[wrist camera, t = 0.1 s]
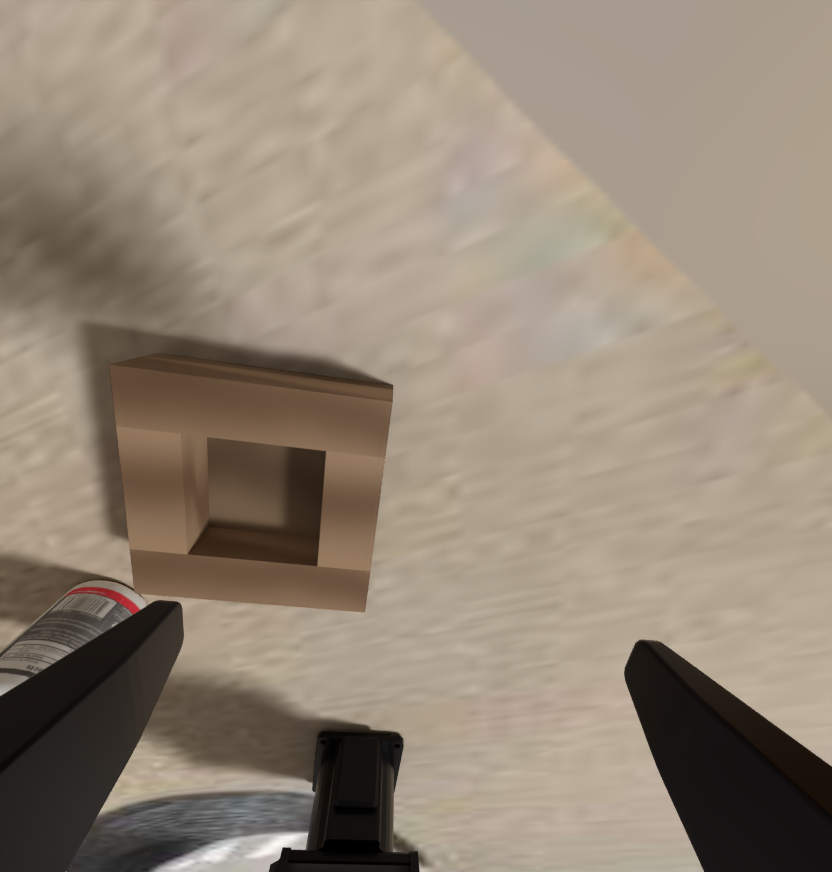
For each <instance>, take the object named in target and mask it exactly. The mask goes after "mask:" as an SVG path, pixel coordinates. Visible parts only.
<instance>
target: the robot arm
mask: <svg viewBox="0 0 832 872" xmlns="http://www.w3.org/2000/svg"><path fill="white" fill-rule="evenodd" d="M183 639H184V629H183V613H182V606H181V604H180V603H179V602H175V601H163V600H158V601H155V602H153V603H151V604H149V605H147V606H146V607H144V608H143V609H141V610H139V611H138V612H136V613H134V614H133V615H131V616H129V617H128V618H126V619H125V620H123V621H121V622H120V623H118V624H116V625H115V626H113V627H112V628H110V629H108V630H107V631H105V632H103V633H102V634H100V635H99V636H97V637H95V638H94V639H92V640H90V641H89V642H87V643H85V644H84V645H82V646H81V647H79V648H77V649H76V650H74V651H72V652H71V653H69V654H68V655H66V656H64V657H63V658H61V659H59V660H58V661H56V662H55V663H53V664H51V665H50V666H48V667H46V668H45V669H43V670H41V671H40V672H38V673H37V674H35V675H33V676H32V677H30V678H28V679H27V680H25V681H24V682H22V683H20V684H19V685H17V686H15V687H14V688H12V689H11V690H9V691H7V692H6V693H4V694H2V695H1V696H0V872H66V870H67V869H68V867H69V865H70V863H71V862H72V860H73V858H74V856H75V854H76V853H77V851H78V849H79V847H80V846H81V844H82V842H83V840H84V838H85V837H86V835H87V833H88V831H89V830H90V828H91V826H92V824H93V822H94V821H95V819H96V817H97V815H98V814H99V812H100V810H101V808H102V807H103V805H104V803H105V801H106V799H107V798H108V796H109V794H110V792H111V791H112V789H113V787H114V785H115V783H116V782H117V780H118V778H119V776H120V775H121V773H122V771H123V769H124V768H125V766H126V764H127V762H128V760H129V759H130V757H131V755H132V753H133V751H134V749H135V747H136V746H137V744H138V742H139V740H140V738H141V735H142V733H143V731H144V729H145V727H146V725H147V723H148V721H149V718H150V716H151V714H152V712H153V709H154V707H155V705H156V703H157V701H158V698H159V696H160V694H161V692H162V690H163V687H164V685H165V683H166V681H167V679H168V676H169V674H170V672H171V670H172V667H173V665H174V663H175V661H176V659H177V656H178V654H179V652H180V650H181V647H182V644H183ZM624 676H625V681H626V684H627V687H628V690H629V692H630V695H631V698H632V701H633V703H634V706H635V709H636V712H637V714H638V717H639V720H640V723H641V725H642V728H643V731H644V734H645V736H646V739H647V742H648V745H649V747H650V750H651V753H652V755H653V758H654V760H655V763H656V766H657V768H658V770H659V773H660V775H661V777H662V780H663V782H664V784H665V787H666V789H667V791H668V793H669V795H670V798H671V800H672V802H673V804H674V806H675V808H676V811H677V813H678V815H679V817H680V819H681V822H682V824H683V826H684V828H685V830H686V833H687V835H688V837H689V839H690V841H691V844H692V846H693V848H694V850H695V852H696V855H697V857H698V859H699V861H700V863H701V866H702V868H703V870H704V872H832V766H830V765H829V764H827V763H826V762H825V761H823V760H822V759H821V758H819V757H818V756H816V755H815V754H814V753H812V752H811V751H810V750H808V749H807V748H806V747H804V746H803V745H801V744H800V743H799V742H797V741H796V740H795V739H793V738H792V737H790V736H789V735H788V734H786V733H785V732H784V731H782V730H781V729H779V728H778V727H777V726H775V725H774V724H773V723H771V722H770V721H768V720H767V719H766V718H764V717H763V716H762V715H760V714H759V713H758V712H756V711H755V710H753V709H752V708H751V707H749V706H748V705H747V704H745V703H744V702H742V701H741V700H740V699H738V698H737V697H736V696H734V695H733V694H731V693H730V692H729V691H727V690H726V689H725V688H723V687H722V686H721V685H719V684H718V683H716V682H715V681H714V680H712V679H711V678H710V677H708V676H707V675H705V674H704V673H703V672H701V671H700V670H699V669H697V668H696V667H694V666H693V665H692V664H690V663H689V662H688V661H686V660H685V659H684V658H682V657H681V656H679V655H678V654H677V653H675V652H674V651H673V650H671V649H670V648H668V647H667V646H666V645H664V644H663V643H661V642H659V641H654V640H639V641H637V642H636V643H635V645H634V648H633V650H632V652H631V654H630V657H629V659H628V661H627V664H626V666H625V671H624ZM402 751H403V738H402V737H401V736H391V735H373V734H354V733H336V732H321V733H319V734H318V737H317V743H316V754H315V765H314V776H313V787H312V790H313V792H315V797H314V803H313V809H312V815H311V821H310V827H309V833H308V839H307V845H306V850H291V848H285V847H283V848H282V852H281V857H280V859H279V860H278V861H276V862H274V863H273V864H271V865H270V870H269V872H419V861H418V851H409V853H403V852H393V809H394V791H395V786H396V781H397V776H398V771H399V766H400V761H401V756H402Z"/></svg>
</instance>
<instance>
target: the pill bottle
mask: <svg viewBox="0 0 832 872" xmlns="http://www.w3.org/2000/svg"><path fill="white" fill-rule="evenodd" d="M146 606H147V604H146V602H145V600H144V599H143V598H142V597H141V596H140V595H139V594H136V593H135V591H133V590H131V589H130V588H128V587H126V586H124V585H121V584H118V583H116V582H110V581H101V580H95V581H88V582H84V583H81V584H79V585H77V586H75V587H73V588H72V589H71V590H69V591H68V592H67V593H66V594H65V595H63V596H62V597H61V598H60V599H59V600H58V601H57V602H56V603H54V604H53V605H52V606H51V607H50V608H49V609H48V610H46V611H45V612H44V613H43V614H42V615H41V616H39V617H38V618H37V619H36V620H35V621H34V622H33V623H32V624H31V625H30V626H28V627H27V628H26V629H25V630H24V631H23V632H22V633H21V634H20V635H18V636H17V637H16V638H15V639H14V640H13V641H12V642H11V643H10V644H8V645H7V646H6V647H5V648H4V649H3V650H2V651H1V652H0V696H1V695H2V694H4V693H6V692H7V691H9V690H11V689H12V688H14V687H15V686H17V685H19V684H20V683H22V682H24V681H25V680H27V679H28V678H30V677H32V676H33V675H35V674H37V673H38V672H40V671H41V670H43V669H45V668H46V667H48V666H50V665H51V664H53V663H55V662H56V661H58V660H59V659H61V658H63V657H64V656H66V655H68V654H69V653H71V652H72V651H74V650H76V649H77V648H79V647H81V646H82V645H84V644H85V643H87V642H89V641H90V640H92V639H94V638H95V637H97V636H99V635H100V634H102V633H103V632H105V631H107V630H108V629H110V628H112V627H113V626H115V625H116V624H118V623H120V622H121V621H123V620H125V619H126V618H128V617H129V616H131V615H133V614H134V613H136V612H138V611H139V610H141V609H143V608H144V607H146Z"/></svg>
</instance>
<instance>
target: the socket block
mask: <svg viewBox="0 0 832 872" xmlns="http://www.w3.org/2000/svg"><path fill="white" fill-rule="evenodd" d="M109 368H110V377H111V386H112V395H113V404H114V413H115V421H116V430H117V439H118V448H119V457H120V466H121V475H122V484H123V493H124V502H125V511H126V520H127V528H128V537H129V546H130V555H131V564H132V573H133V582H134V591H135V593H136V594H148V595H160V596H172V597H184V598H196V599H209V600H221V601H233V602H245V603H257V604H269V605H282V606H294V607H306V608H318V609H330V610H342V611H355V612H365V608H366V600H367V593H368V585H369V577H370V570H371V562H372V554H373V547H374V539H375V531H376V524H377V516H378V508H379V501H380V493H381V485H382V478H383V470H384V462H385V455H386V447H387V439H388V432H389V424H390V416H391V409H392V399H393V385H387V384H379V383H372V382H365V381H357V380H350V379H342V378H335V377H328V376H320V375H313V374H305V373H298V372H291V371H283V370H276V369H268V368H261V367H254V366H246V365H239V364H232V363H224V362H217V361H209V360H202V359H195V358H187V357H180V356H172V355H165V354H153V355H149V356H145V357H140V358H136V359H132V360H127V361H123V362H119V363H114V364H110V365H109Z"/></svg>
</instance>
